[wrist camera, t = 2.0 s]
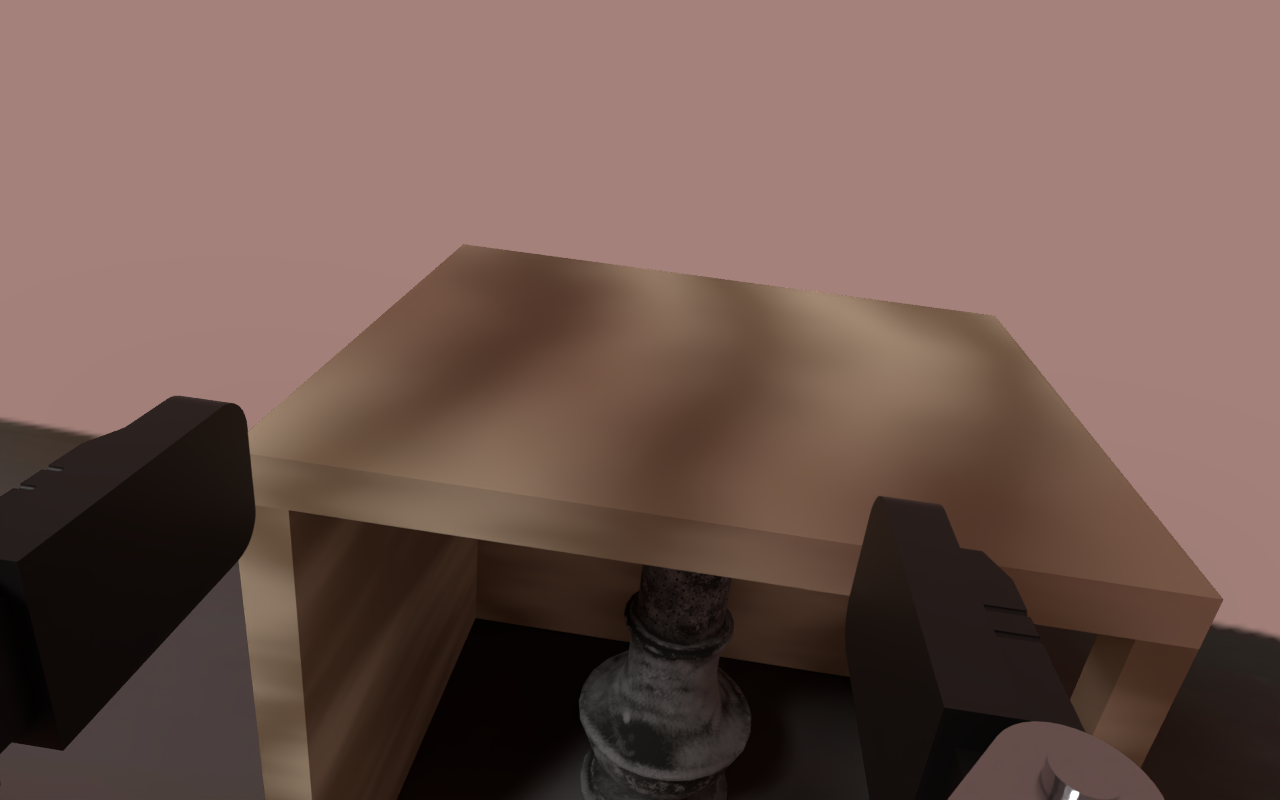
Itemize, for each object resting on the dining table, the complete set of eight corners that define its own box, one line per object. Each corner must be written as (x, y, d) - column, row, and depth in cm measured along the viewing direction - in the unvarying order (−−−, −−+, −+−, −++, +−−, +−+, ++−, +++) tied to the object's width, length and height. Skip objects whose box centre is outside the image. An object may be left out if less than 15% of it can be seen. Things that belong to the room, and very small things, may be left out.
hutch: (283, 957, 24) (226, 450, 17) (456, 596, 39) (463, 244, 32) (984, 1083, 23) (1223, 599, 16) (890, 664, 38) (995, 315, 31)
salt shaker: (705, 710, 34) (754, 444, 29) (759, 841, 29) (831, 547, 24) (558, 727, 33) (583, 449, 28) (588, 869, 28) (626, 561, 22)
